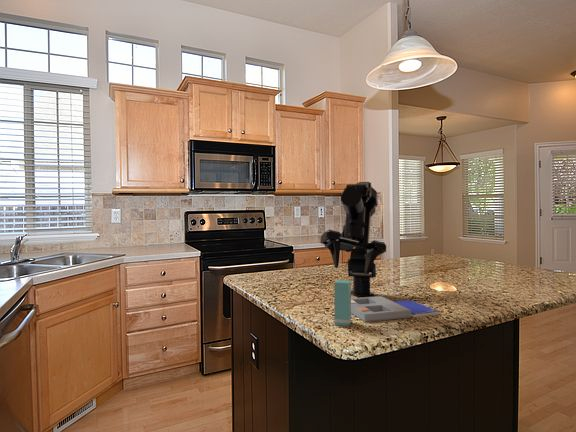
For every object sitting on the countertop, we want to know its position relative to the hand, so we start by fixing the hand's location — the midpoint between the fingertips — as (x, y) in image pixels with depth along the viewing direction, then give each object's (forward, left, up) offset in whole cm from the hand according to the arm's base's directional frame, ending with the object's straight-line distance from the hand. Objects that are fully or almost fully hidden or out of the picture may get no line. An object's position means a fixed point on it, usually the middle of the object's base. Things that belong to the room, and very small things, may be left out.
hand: (351, 271), depth 103 cm
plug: (+8, -6, -12) cm, 16 cm away
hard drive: (+2, +19, -13) cm, 23 cm away
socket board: (0, +7, -12) cm, 14 cm away
